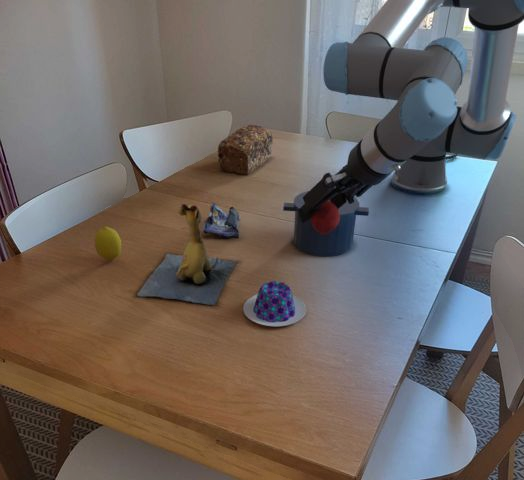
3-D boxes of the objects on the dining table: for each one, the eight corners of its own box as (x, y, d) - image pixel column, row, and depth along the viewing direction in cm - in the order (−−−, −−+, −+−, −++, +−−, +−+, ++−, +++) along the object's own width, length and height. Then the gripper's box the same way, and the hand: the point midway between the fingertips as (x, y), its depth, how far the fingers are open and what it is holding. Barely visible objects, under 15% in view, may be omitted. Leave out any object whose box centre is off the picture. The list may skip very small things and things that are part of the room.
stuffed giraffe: (237, 261, 120) (232, 192, 110) (214, 307, 106) (206, 233, 96) (168, 256, 123) (157, 187, 113) (137, 300, 109) (122, 227, 99)
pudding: (245, 294, 110) (244, 271, 106) (304, 295, 109) (306, 272, 106) (241, 328, 100) (240, 304, 97) (306, 330, 100) (308, 306, 97)
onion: (332, 243, 109) (336, 204, 104) (305, 237, 110) (308, 199, 106) (341, 231, 113) (345, 194, 108) (315, 226, 115) (317, 189, 110)
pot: (285, 227, 134) (286, 190, 129) (363, 232, 133) (368, 194, 127) (279, 253, 124) (281, 213, 118) (364, 259, 122) (370, 219, 116)
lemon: (128, 257, 122) (123, 223, 117) (115, 268, 117) (109, 234, 113) (106, 253, 123) (100, 219, 118) (93, 264, 119) (86, 230, 114)
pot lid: (296, 192, 129) (296, 177, 127) (358, 195, 128) (360, 180, 126) (290, 218, 118) (291, 202, 115) (359, 222, 116) (361, 206, 114)
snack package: (259, 227, 135) (221, 214, 140) (257, 204, 130) (218, 192, 135) (229, 253, 128) (191, 238, 133) (226, 230, 123) (187, 216, 128)
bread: (244, 153, 179) (244, 121, 173) (274, 157, 175) (275, 125, 169) (216, 171, 165) (215, 137, 159) (248, 176, 162) (248, 142, 156)
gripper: (342, 186, 87) (282, 240, 108) (427, 166, 95) (356, 220, 116) (324, 143, 87) (269, 205, 108) (411, 126, 95) (343, 187, 116)
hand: (314, 212), depth 112 cm, fingers closed on onion, 6 cm apart
